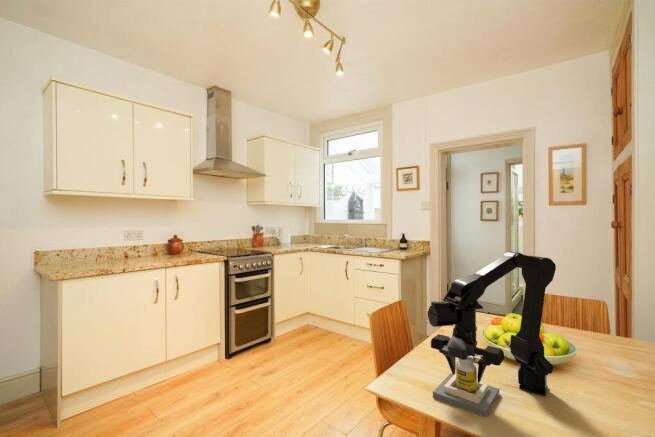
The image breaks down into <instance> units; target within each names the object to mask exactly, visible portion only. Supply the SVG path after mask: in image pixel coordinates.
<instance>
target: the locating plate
mask: <svg viewBox="0 0 655 437" xmlns="http://www.w3.org/2000/svg"><path fill="white" fill-rule="evenodd" d="M499 396H500V388H498V387H495V386H492V385H489V384H488V383H487V382H483V381H480V383H478V380H477V392H476V394H472V393H469V392H466V391H463V390H460V389H457V384H456V373H455V375H453V374H452V372H451V373H449V374H448V375H447V376H446V377H445V378H444V380H443V381H442V382H441V383H440V384H439V385H438V386H436V388H435V389H434V390H433V391H432V398H434V399H438V400H440V401H442V402H445V403H447V404H450V405H453V406H455V407H458V408H461V409H463V410H466V411H468V412H471V413H474V414H477V415H479V416H482V417H485V418H487V416H488V414H489V413H490V411H491V409H492V407H493V406H494V404H495V403H496V400H497V399H498V397H499Z"/></svg>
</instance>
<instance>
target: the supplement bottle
mask: <svg viewBox="0 0 655 437" xmlns="http://www.w3.org/2000/svg"><path fill="white" fill-rule="evenodd" d="M457 359H458V361H456V370H455V374H456V384H457V389H460V390H463V391H466V392H469V393H472V394H476V392H477V381H478V379H477V376H478V368H477V366H476V365H475V362H474V361H475V360H474V359H475V358H474V357H473V356H468V357H467V359H466V360H462V359H460V358H457Z"/></svg>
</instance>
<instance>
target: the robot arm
mask: <svg viewBox="0 0 655 437" xmlns="http://www.w3.org/2000/svg"><path fill="white" fill-rule="evenodd" d="M556 267H557V266H556V263H555V262H554V261H553V259H551V258H549V257H543V256H535V255H527V254H523V253H521V252H516V251H507V252H505V253H504V254H503V255H502V256H500V257H499V258H498V259H496V260H494V261H492V262H491V263H489V264H488V265H486V266H485V267H483V268H481V269H480V270H479V271H477V272H476V273H475V272H474V273H472V274H469V275H465V276H462V277H459V278H457V279H454V280H453V281H452V282H451V285H450V288H449V290H448V291H447V293H446V295H445V296H444V297H443V299H442V301H430V302H431V304H430V306H429V308H428V310H427V319H428V322H429V324H430V326H432V327H435V328H436V327H438V328H439V327H448V326H451V327H453V326H454V327H453V328H452V329H453V330H452V335H451V337H450V336H448V335H444V334H439V333H438V334H437V335H435V336H433V337H432V338H431V340H430V348H432V349H434V350H437V351H438V352H439V353H441V354H442V355H443V356H444V357H445V359H446V360H447V363H448V365H449V368H450V372H451V374H453V375H455V374H456V364H457V361H456V358H457V359H458V358H460V359H462V360H466V359H467V357H468V356H475V354H476V355H478V356H479V359H478V360H477V366H478V368H477V381H478V383H480V382H482V378H483V375H484V373H485V371H486V368H487V366H488V367H490V366H491V365H494V366H501V364H502V362H504V359H505V351H504V350H503V349H502V348H500V347H495V346H491V345H487V346H486V347H485V348H481V347H477V345H478V340H477V331H478V326H477V311H476V310H483V309H484V307H483V305H482V304H480V303H479V301H478V300H479V299H480V298H481V297H482V296H483V295H484V294H485V292H486V289H487V288H488V287H489V286H491V285H492V284H494V283H496V282H498V280H500V279H501V278H504V277H505V276H506V275H507V274H509V273H511V272H512V271H513V270H515V269H517V268H519V269H521V277H522V279H523V280H524V283H525V289H524V295H523V296H524V298H523V305H522V311H521V312H522V313H521V319H520V320H521V321H520V328H519V331H518V332H517V333H516V334H515V335H514V334H511V335H510V343H509V345H508V348H510V354H511V356H513V357H514V361H515V362H516V363H518V364H520V366H519V368H518V369H517V383H518V384H519V385H518V388H519V389H520V390H523V391H526V392H531V393H534V394H537V395H540V396H543V397H545V396H547V392H548V388H549V386H548V385H547V376H549V375H551V374H552V373H553V370H554V365H553V363H551V362H550V361H549V360H548V359H547V358H546V357H545V346H544V344H543V341H542V339H541V337H540V335H541V334H540V333H541V325H542V317H543V311H544V302H545V295H546V288H547V287H548V286H549V285H550V284H551V283H552V281H553V280H554V276H555V273H556V271H557V270H556ZM475 357H476V356H475Z"/></svg>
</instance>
